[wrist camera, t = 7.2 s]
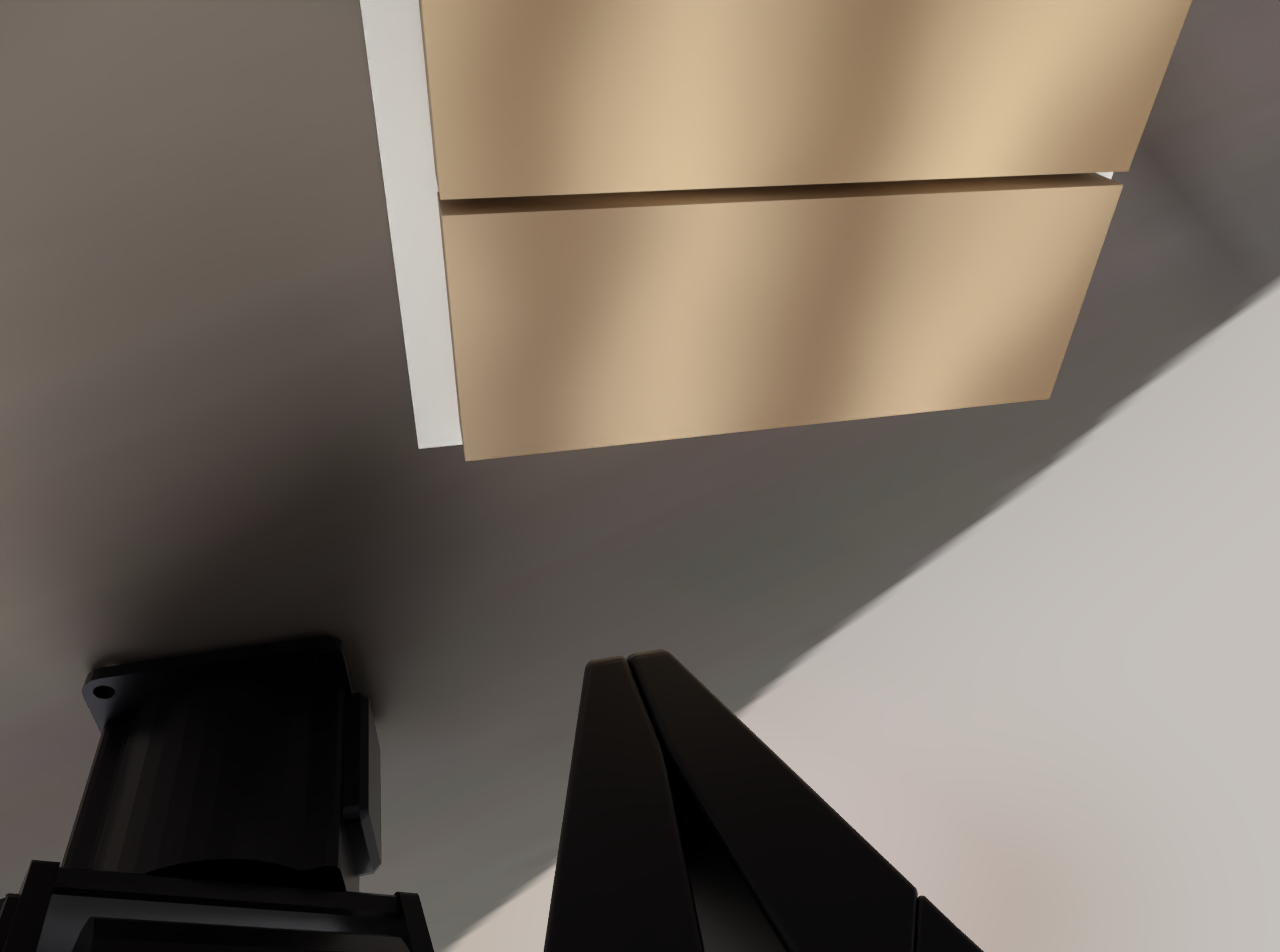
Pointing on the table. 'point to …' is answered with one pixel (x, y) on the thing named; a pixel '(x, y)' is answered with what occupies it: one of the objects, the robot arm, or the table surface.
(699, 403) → the laid plank
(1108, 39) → the raised plank
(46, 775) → the table surface
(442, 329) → the board
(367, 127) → the table surface
